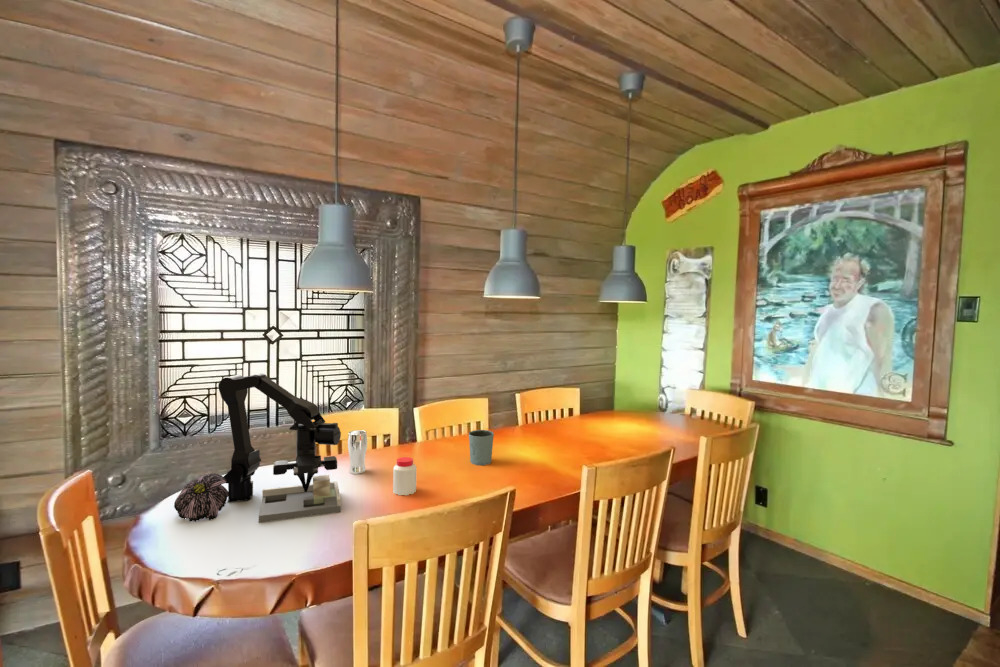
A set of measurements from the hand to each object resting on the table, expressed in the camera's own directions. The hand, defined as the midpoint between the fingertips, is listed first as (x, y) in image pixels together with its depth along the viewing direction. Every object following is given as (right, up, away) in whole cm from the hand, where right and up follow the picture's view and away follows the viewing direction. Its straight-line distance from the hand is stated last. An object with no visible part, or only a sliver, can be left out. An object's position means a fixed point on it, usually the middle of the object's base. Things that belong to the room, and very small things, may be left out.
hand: (305, 491), depth 158 cm
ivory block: (+4, -1, +2) cm, 5 cm away
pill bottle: (+29, -4, +11) cm, 32 cm away
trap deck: (0, -3, -4) cm, 5 cm away
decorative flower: (-27, -4, -10) cm, 29 cm away
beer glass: (+8, -2, +29) cm, 30 cm away
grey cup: (+54, -2, +43) cm, 69 cm away
